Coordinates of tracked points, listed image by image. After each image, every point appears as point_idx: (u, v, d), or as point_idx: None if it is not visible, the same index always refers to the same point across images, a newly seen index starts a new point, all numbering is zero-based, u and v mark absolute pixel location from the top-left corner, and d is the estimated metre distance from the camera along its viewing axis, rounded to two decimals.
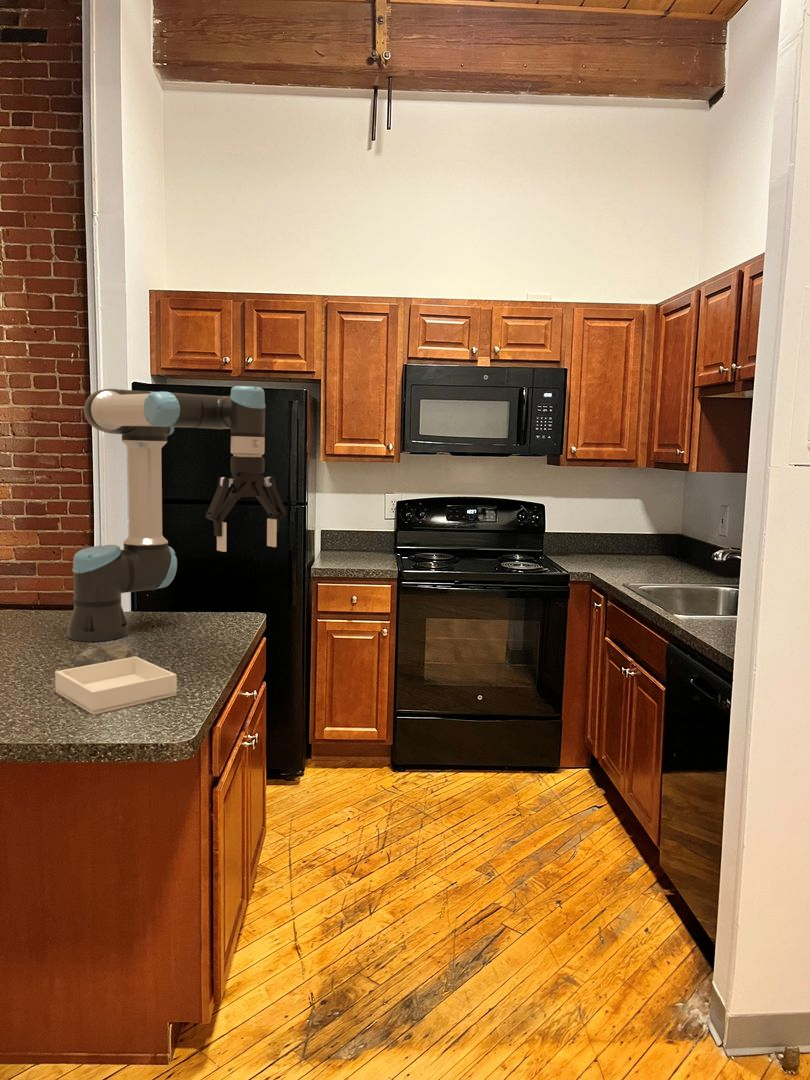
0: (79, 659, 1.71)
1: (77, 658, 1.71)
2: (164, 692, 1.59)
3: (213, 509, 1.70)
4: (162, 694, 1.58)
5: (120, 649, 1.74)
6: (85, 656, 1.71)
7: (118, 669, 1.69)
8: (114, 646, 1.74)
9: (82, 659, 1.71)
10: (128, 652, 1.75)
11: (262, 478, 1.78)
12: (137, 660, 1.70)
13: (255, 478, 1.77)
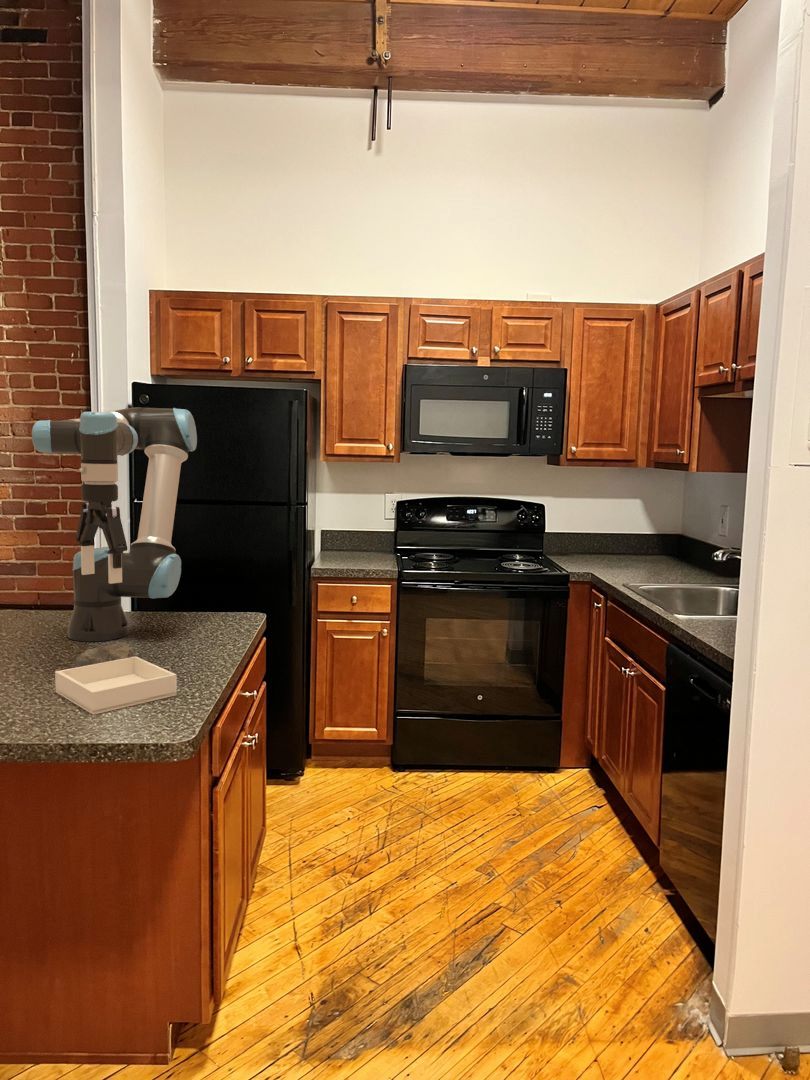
0: (81, 659, 1.71)
1: (79, 658, 1.71)
2: (164, 692, 1.59)
3: None
4: (162, 694, 1.58)
5: (121, 649, 1.75)
6: (87, 656, 1.71)
7: (118, 669, 1.69)
8: (116, 646, 1.74)
9: (84, 659, 1.71)
10: (130, 652, 1.76)
11: (102, 507, 1.68)
12: (137, 660, 1.70)
13: (97, 506, 1.69)
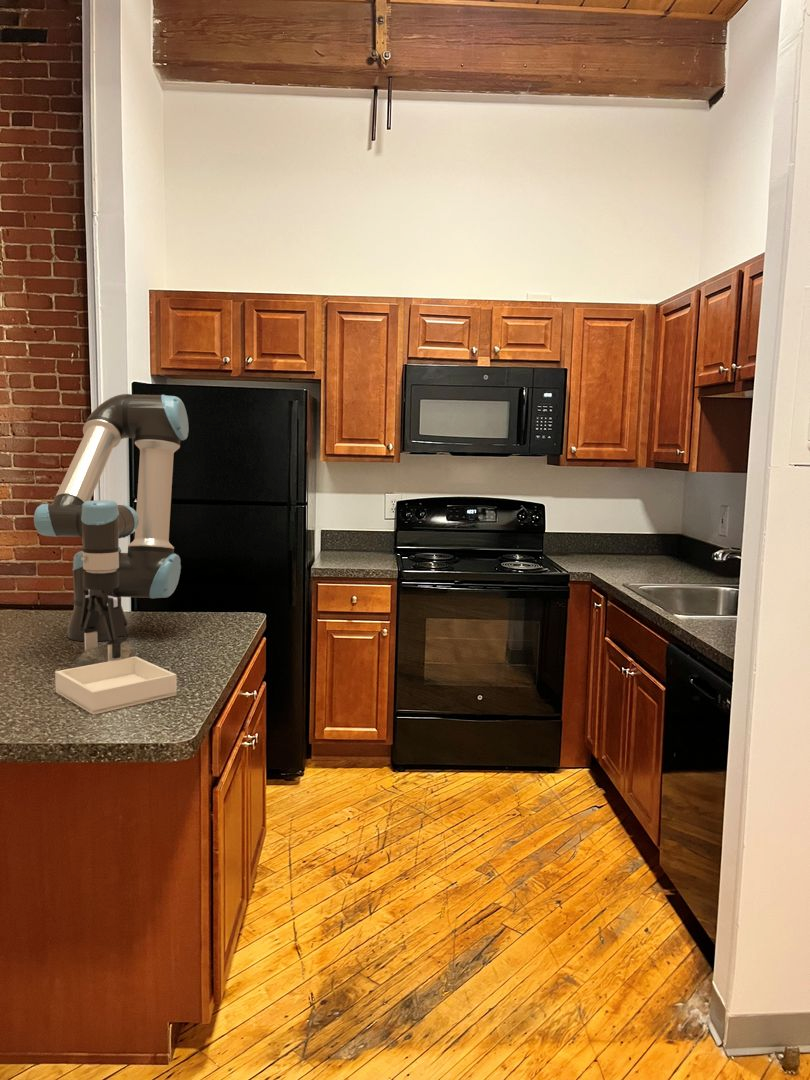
0: (83, 659, 1.71)
1: (81, 658, 1.71)
2: (164, 692, 1.59)
3: None
4: (162, 694, 1.58)
5: (123, 648, 1.75)
6: (89, 656, 1.71)
7: (118, 669, 1.69)
8: None
9: (86, 659, 1.71)
10: (131, 651, 1.76)
11: (103, 595, 1.70)
12: (137, 660, 1.70)
13: (99, 593, 1.72)
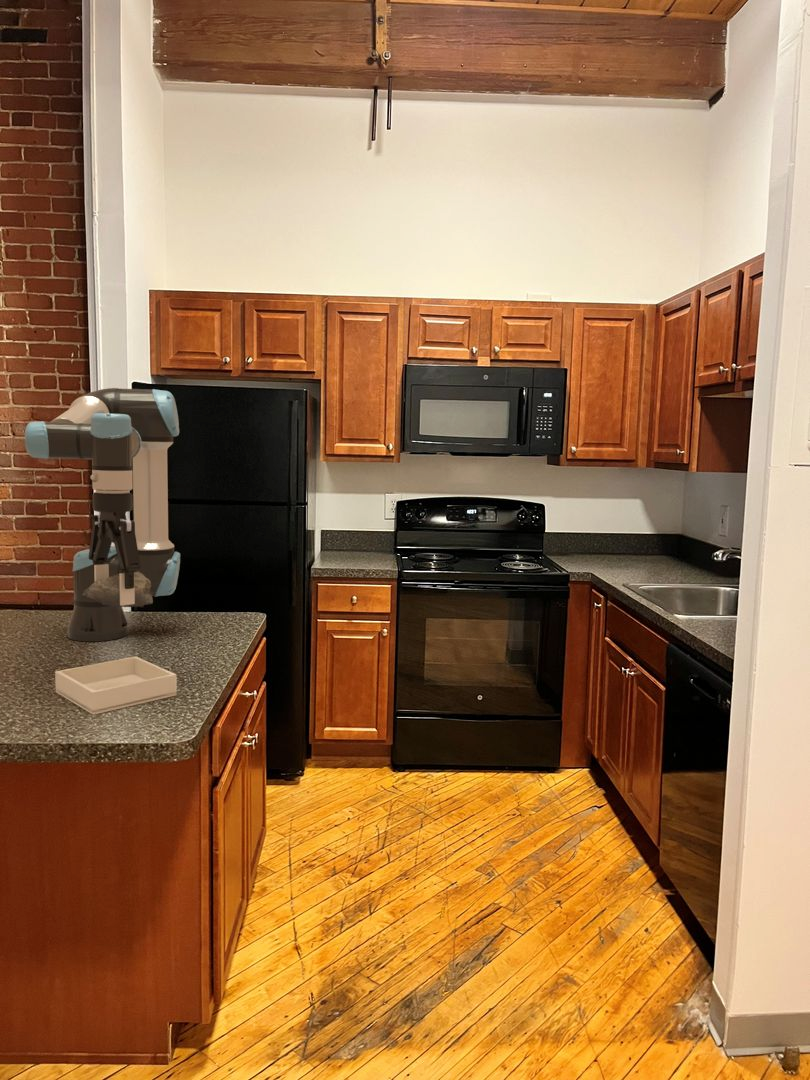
0: (94, 589, 1.53)
1: (91, 588, 1.53)
2: (164, 692, 1.59)
3: None
4: (162, 694, 1.58)
5: (138, 578, 1.57)
6: (100, 586, 1.54)
7: (118, 669, 1.69)
8: None
9: (97, 589, 1.53)
10: (146, 582, 1.59)
11: (115, 519, 1.53)
12: (137, 660, 1.70)
13: (110, 516, 1.54)
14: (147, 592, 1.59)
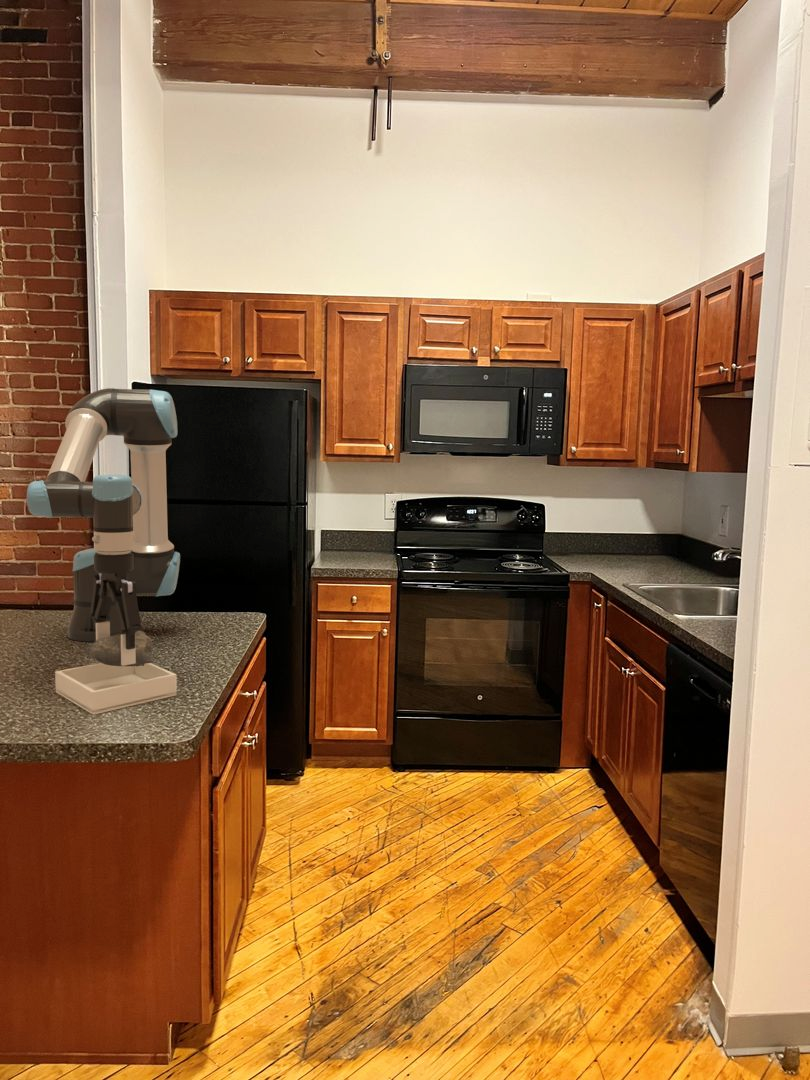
0: (95, 649, 1.55)
1: (92, 648, 1.55)
2: (164, 692, 1.59)
3: None
4: (162, 694, 1.58)
5: (139, 637, 1.59)
6: (102, 646, 1.55)
7: (118, 669, 1.69)
8: None
9: (99, 649, 1.55)
10: (147, 640, 1.60)
11: (116, 579, 1.54)
12: None
13: (112, 577, 1.55)
14: (148, 650, 1.60)
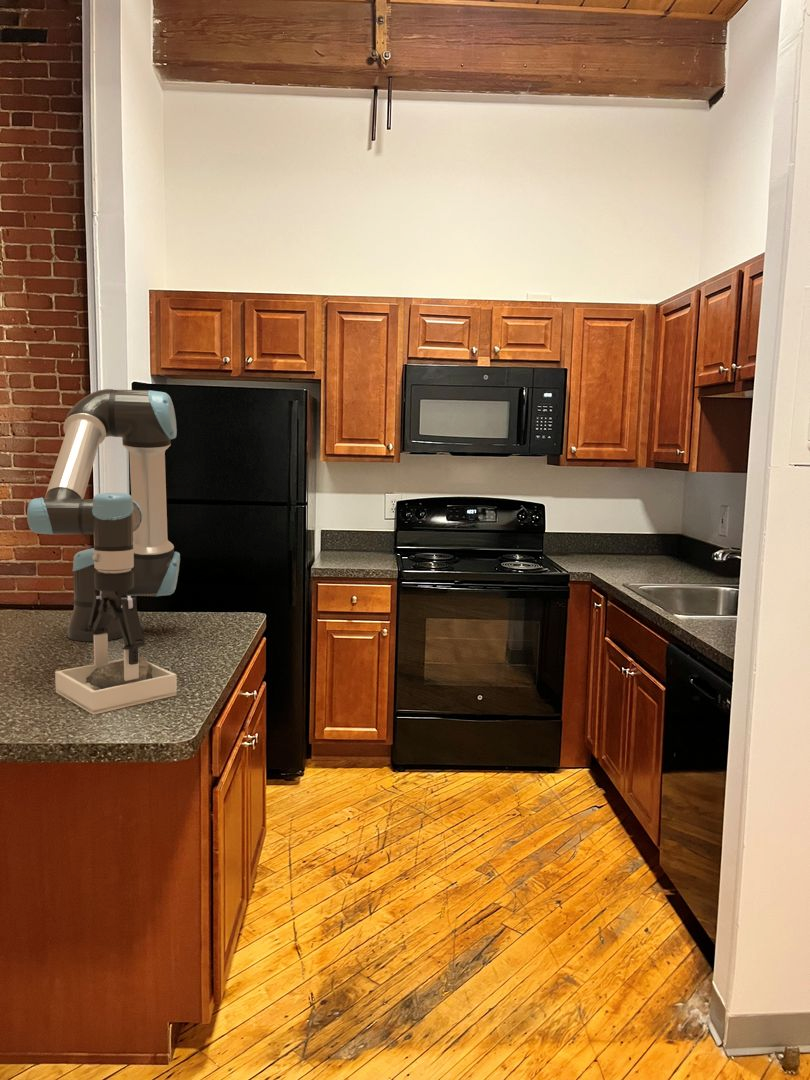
0: (97, 677, 1.56)
1: (94, 676, 1.56)
2: (164, 692, 1.59)
3: None
4: (162, 694, 1.58)
5: (140, 664, 1.60)
6: (104, 673, 1.56)
7: None
8: None
9: (101, 677, 1.56)
10: (149, 667, 1.61)
11: (117, 597, 1.55)
12: None
13: (112, 596, 1.56)
14: (149, 677, 1.62)
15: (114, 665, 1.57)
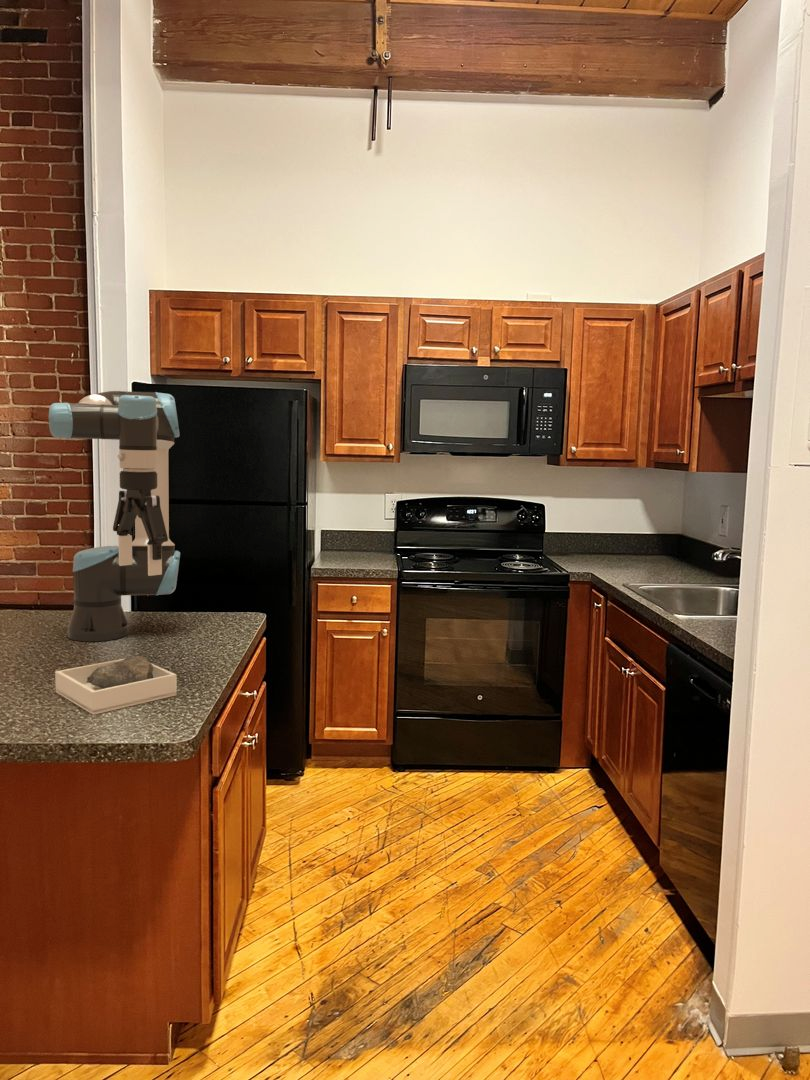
0: (98, 677, 1.56)
1: (96, 676, 1.56)
2: (164, 692, 1.59)
3: None
4: (162, 694, 1.58)
5: (141, 664, 1.61)
6: (105, 673, 1.56)
7: None
8: (135, 661, 1.60)
9: (102, 677, 1.56)
10: (149, 666, 1.62)
11: (141, 496, 1.60)
12: None
13: (136, 495, 1.62)
14: (150, 676, 1.62)
15: (115, 665, 1.57)
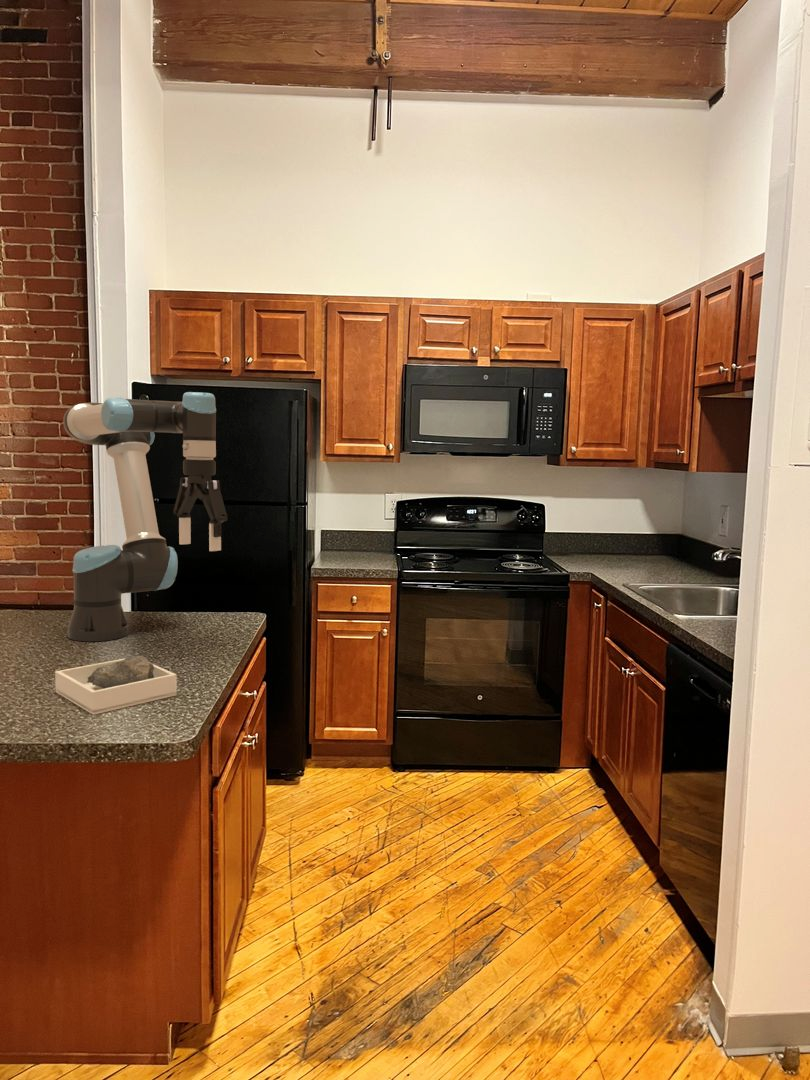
0: (99, 677, 1.56)
1: (97, 676, 1.56)
2: (164, 692, 1.59)
3: None
4: (162, 694, 1.58)
5: (142, 663, 1.61)
6: (106, 673, 1.56)
7: None
8: (135, 660, 1.60)
9: (103, 677, 1.56)
10: (150, 666, 1.62)
11: (203, 481, 1.82)
12: None
13: (198, 480, 1.83)
14: (150, 676, 1.62)
15: (116, 665, 1.58)
